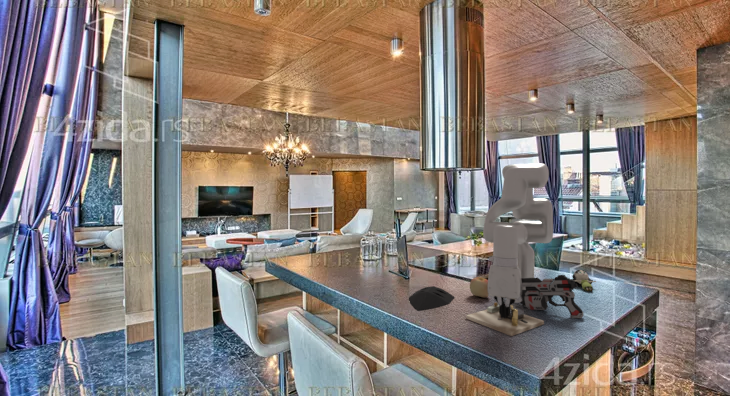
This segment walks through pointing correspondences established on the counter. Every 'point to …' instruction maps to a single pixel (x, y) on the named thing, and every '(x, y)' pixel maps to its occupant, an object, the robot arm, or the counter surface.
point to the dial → (516, 313)
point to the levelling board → (503, 321)
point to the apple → (479, 287)
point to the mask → (430, 298)
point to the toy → (583, 280)
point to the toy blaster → (550, 294)
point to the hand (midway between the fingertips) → (504, 316)
